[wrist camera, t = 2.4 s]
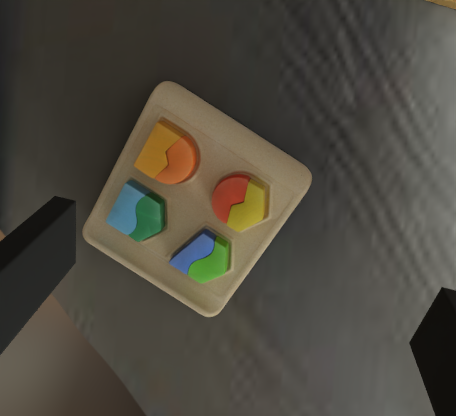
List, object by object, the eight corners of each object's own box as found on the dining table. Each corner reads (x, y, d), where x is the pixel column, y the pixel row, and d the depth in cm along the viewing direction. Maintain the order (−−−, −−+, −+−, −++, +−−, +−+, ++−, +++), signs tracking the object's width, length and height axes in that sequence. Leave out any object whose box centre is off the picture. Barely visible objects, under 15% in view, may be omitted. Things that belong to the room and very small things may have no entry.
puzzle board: (83, 229, 43) (67, 239, 40) (166, 75, 38) (156, 71, 35) (217, 315, 44) (212, 331, 40) (316, 172, 39) (320, 177, 35)
